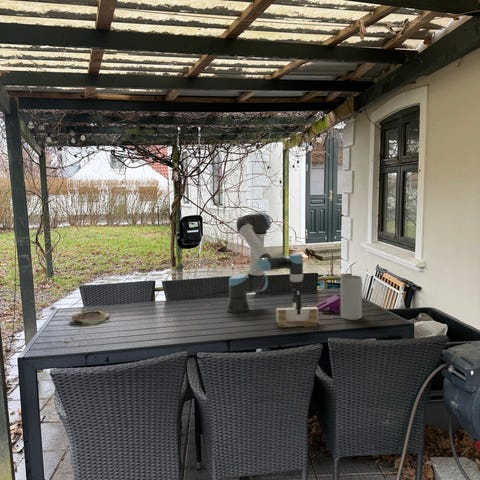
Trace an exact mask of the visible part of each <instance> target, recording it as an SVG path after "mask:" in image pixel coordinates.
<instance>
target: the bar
mask: <svg viewBox="0 0 480 480" xmlns="http://www.w3.org/2000/svg"><path fill="white" fill-rule="evenodd" d="M301 307H302V306H301ZM310 309H317V322H318V321H319V316H323V314H324V313H323V311H320V312H318V308H317V307H304V306H303V307H302V308H301V320H296V309H295V308H293V307H284V308H277V307H276V308H275V318H276V319H275V320H276V322H279V310H286V322H307V321H310Z"/></svg>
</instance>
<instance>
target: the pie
mask: <svg viewBox="0 0 480 480" xmlns="http://www.w3.org/2000/svg"><path fill="white" fill-rule="evenodd" d="M70 317H71V319H72V320H73V321H74V323H75V324H77V325H84V326H85V325H86V326H87V325H88V326H90V325H93V327H94V326H95V327H96V326H97V325H99V324H102V323H106V322H105V321H106V320H107V321H108V322H110V321H111V318H110V317H111V314H110V313H109V312H106V311H104V310H86V311H83V312H78V313H75V314H73V315H72V316H70Z"/></svg>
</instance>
